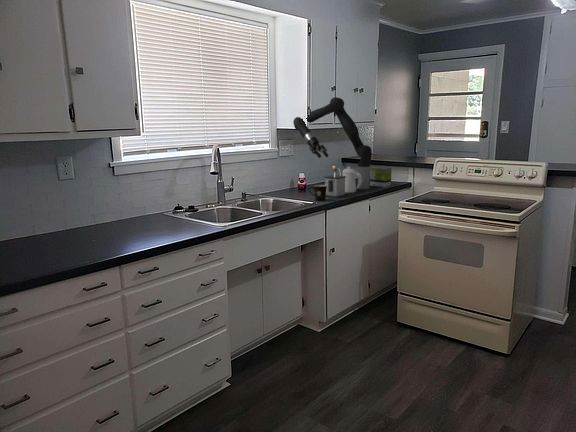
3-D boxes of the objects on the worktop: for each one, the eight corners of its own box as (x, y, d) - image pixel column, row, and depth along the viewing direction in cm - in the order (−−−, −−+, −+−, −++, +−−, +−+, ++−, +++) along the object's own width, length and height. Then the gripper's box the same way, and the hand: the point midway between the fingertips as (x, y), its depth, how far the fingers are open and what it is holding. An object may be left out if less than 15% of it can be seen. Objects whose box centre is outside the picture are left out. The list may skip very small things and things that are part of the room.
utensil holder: (333, 194, 316) (333, 175, 313) (345, 195, 309) (345, 176, 306) (323, 196, 307) (323, 176, 304) (335, 198, 300) (335, 178, 297)
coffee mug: (329, 200, 294) (329, 185, 292) (320, 202, 288) (320, 187, 286) (316, 198, 302) (316, 183, 300) (307, 200, 296) (307, 185, 294)
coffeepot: (340, 189, 339) (340, 165, 335) (365, 192, 320) (366, 167, 316) (330, 190, 332) (330, 166, 328) (356, 194, 313) (356, 168, 309)
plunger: (333, 192, 314) (333, 165, 309) (342, 193, 309) (342, 165, 304) (327, 193, 308) (327, 166, 304) (336, 194, 303) (336, 166, 299)
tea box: (368, 185, 354) (368, 167, 351) (374, 184, 361) (375, 166, 358) (385, 187, 344) (385, 168, 341) (391, 185, 352) (392, 167, 348)
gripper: (307, 136, 306) (321, 153, 301) (320, 136, 317) (333, 152, 312) (302, 144, 311) (314, 161, 306) (314, 143, 321) (326, 159, 316)
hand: (324, 156), depth 309 cm, fingers open, 8 cm apart
